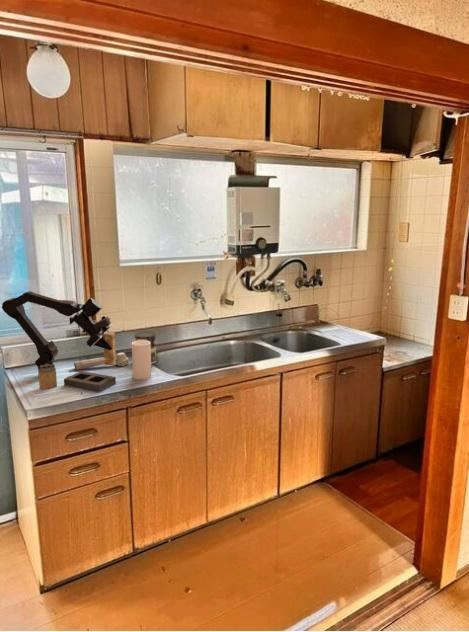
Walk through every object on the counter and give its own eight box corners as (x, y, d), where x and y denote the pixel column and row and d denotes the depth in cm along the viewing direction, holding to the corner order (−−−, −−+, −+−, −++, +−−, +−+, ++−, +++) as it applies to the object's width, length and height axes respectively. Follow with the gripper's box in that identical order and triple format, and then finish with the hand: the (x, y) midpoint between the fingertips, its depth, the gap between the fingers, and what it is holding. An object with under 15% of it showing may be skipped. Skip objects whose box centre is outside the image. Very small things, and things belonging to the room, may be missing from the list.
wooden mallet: (73, 360, 220) (125, 348, 228) (76, 373, 221) (128, 361, 230) (74, 364, 215) (127, 351, 223) (77, 377, 217) (130, 364, 225)
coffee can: (154, 357, 238) (154, 331, 235) (157, 363, 228) (156, 336, 225) (134, 359, 235) (133, 332, 232) (136, 365, 225) (135, 337, 222)
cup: (132, 379, 206) (131, 345, 203) (133, 373, 214) (132, 340, 211) (151, 379, 207) (150, 344, 204) (151, 373, 215) (150, 339, 212)
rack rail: (64, 385, 198) (63, 378, 198) (81, 377, 208) (81, 371, 208) (99, 392, 192) (99, 385, 191) (115, 383, 202) (115, 377, 201)
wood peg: (104, 364, 206) (103, 334, 203) (106, 361, 210) (105, 332, 207) (113, 364, 206) (112, 334, 203) (115, 362, 210) (114, 332, 207)
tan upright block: (56, 384, 200) (54, 362, 197) (58, 387, 196) (56, 364, 194) (38, 387, 196) (36, 364, 194) (40, 390, 193) (38, 367, 191)
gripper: (92, 316, 194) (120, 342, 196) (104, 307, 212) (129, 330, 215) (75, 334, 195) (102, 359, 198) (88, 323, 214) (113, 346, 216)
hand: (112, 348), depth 207 cm, fingers closed on wood peg, 4 cm apart
